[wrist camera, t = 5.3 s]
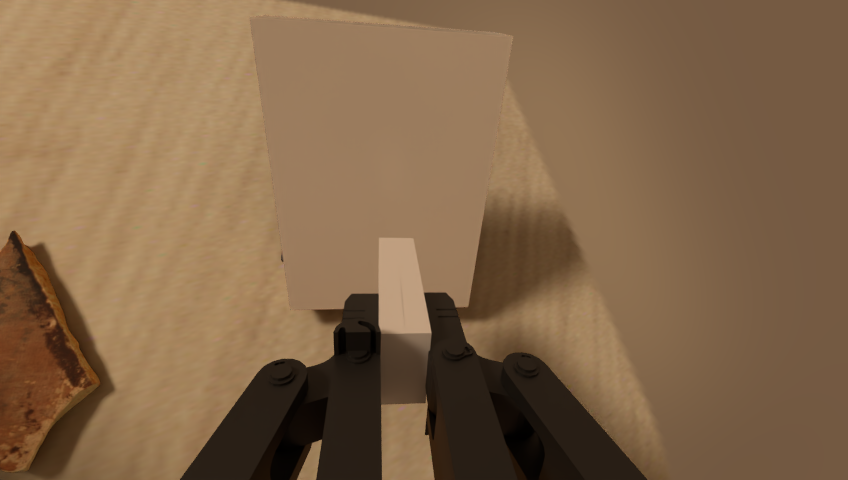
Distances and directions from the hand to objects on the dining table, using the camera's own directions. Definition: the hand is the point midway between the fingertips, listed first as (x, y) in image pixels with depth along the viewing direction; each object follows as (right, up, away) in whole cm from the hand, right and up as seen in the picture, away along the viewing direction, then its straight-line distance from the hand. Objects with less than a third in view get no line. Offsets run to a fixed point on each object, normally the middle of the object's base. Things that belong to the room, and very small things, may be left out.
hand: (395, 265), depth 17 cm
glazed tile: (-1, -2, +6) cm, 6 cm away
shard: (-21, -6, +3) cm, 22 cm away
